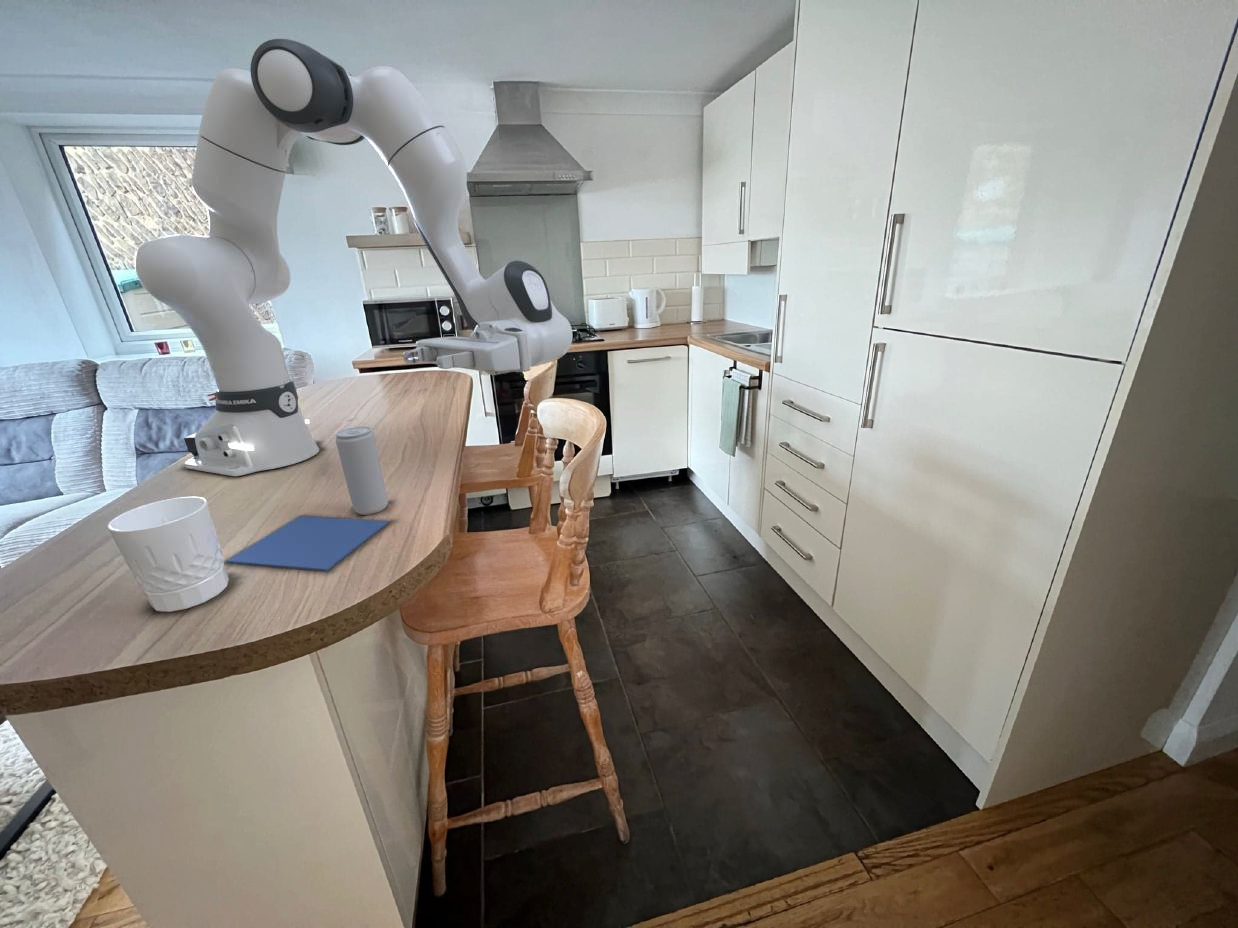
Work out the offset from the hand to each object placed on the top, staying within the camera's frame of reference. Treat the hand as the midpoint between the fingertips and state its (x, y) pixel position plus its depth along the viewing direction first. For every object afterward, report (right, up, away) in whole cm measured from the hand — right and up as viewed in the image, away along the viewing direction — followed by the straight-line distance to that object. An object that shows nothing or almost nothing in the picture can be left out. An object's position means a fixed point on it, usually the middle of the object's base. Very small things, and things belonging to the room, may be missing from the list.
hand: (421, 360), depth 76 cm
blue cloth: (-10, -26, -10) cm, 30 cm away
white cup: (-17, -30, -20) cm, 40 cm away
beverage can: (-7, -22, -1) cm, 23 cm away
